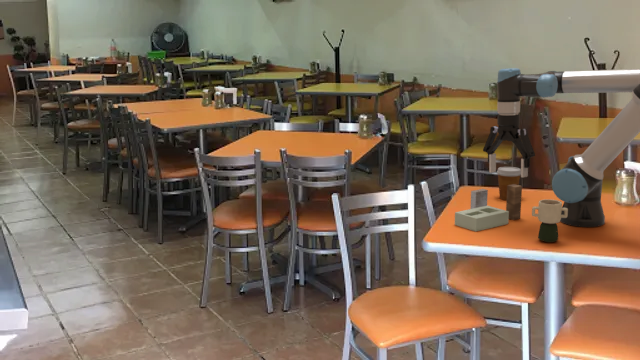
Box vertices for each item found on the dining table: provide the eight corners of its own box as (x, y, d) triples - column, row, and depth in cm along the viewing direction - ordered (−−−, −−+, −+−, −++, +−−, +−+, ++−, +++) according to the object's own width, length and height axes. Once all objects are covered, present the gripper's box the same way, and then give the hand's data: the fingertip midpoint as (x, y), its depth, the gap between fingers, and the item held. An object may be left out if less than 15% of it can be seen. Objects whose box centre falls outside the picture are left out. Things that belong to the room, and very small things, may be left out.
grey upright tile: (486, 213, 268) (487, 189, 266) (475, 216, 265) (476, 192, 263) (481, 212, 270) (482, 188, 268) (470, 214, 267) (471, 190, 265)
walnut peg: (520, 218, 261) (522, 185, 259) (513, 220, 259) (515, 187, 257) (512, 216, 264) (514, 184, 262) (505, 217, 262) (507, 185, 260)
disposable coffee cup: (491, 199, 289) (493, 169, 286) (500, 194, 297) (502, 165, 294) (515, 202, 284) (516, 172, 281) (523, 197, 291) (525, 168, 289)
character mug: (564, 238, 237) (567, 199, 234) (566, 245, 230) (569, 205, 228) (529, 236, 240) (532, 198, 237) (530, 243, 233) (533, 203, 230)
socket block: (508, 223, 255) (508, 211, 254) (475, 231, 246) (476, 218, 245) (486, 217, 263) (487, 205, 262) (454, 224, 254) (455, 212, 253)
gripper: (546, 114, 243) (545, 177, 247) (486, 110, 263) (486, 168, 267) (532, 117, 239) (531, 180, 243) (473, 112, 258) (473, 171, 262)
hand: (508, 174), depth 255 cm, fingers open, 13 cm apart
